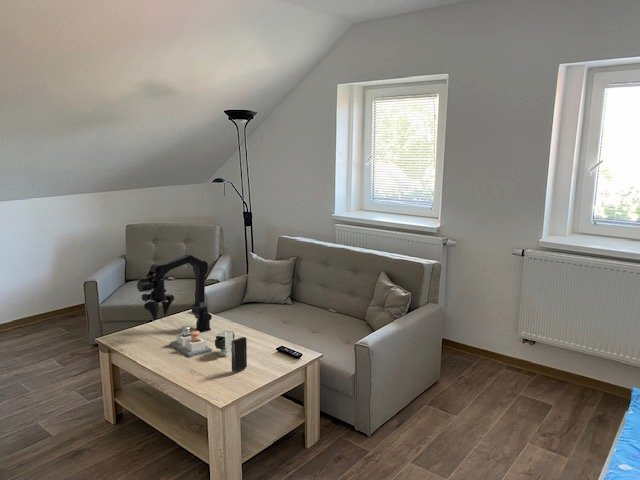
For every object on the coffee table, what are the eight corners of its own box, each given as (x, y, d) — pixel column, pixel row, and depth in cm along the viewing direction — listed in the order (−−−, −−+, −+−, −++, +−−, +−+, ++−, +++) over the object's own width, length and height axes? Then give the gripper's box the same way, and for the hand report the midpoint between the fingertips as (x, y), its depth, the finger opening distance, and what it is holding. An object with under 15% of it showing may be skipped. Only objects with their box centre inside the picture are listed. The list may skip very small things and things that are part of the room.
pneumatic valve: (235, 351, 248) (234, 328, 247) (223, 360, 237) (222, 336, 236) (225, 350, 250) (225, 327, 248) (213, 358, 239) (212, 334, 237)
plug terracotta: (197, 339, 251) (196, 330, 250) (201, 341, 247) (201, 332, 247) (188, 341, 248) (188, 331, 247) (192, 343, 244) (192, 334, 244)
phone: (233, 373, 223) (232, 341, 221) (231, 372, 224) (231, 340, 221) (246, 367, 229) (246, 336, 226) (245, 367, 229) (245, 336, 227)
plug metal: (188, 334, 258) (188, 325, 258) (192, 336, 255) (192, 327, 254) (179, 335, 255) (179, 326, 255) (183, 338, 252) (183, 329, 251)
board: (191, 339, 264) (191, 329, 263) (211, 351, 248) (211, 341, 247) (170, 344, 256) (170, 334, 256) (189, 357, 240) (189, 346, 239)
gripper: (155, 283, 265) (156, 311, 267) (133, 291, 247) (135, 321, 250) (173, 284, 262) (175, 312, 265) (153, 293, 244) (155, 323, 247)
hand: (160, 317), depth 256 cm, fingers open, 9 cm apart
